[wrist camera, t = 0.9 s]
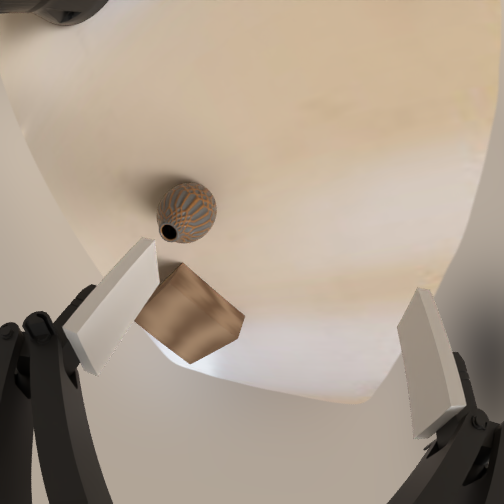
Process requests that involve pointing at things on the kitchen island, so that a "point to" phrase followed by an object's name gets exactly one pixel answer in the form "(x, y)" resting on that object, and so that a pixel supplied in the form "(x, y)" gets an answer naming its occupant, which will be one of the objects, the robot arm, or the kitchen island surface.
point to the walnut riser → (190, 316)
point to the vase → (186, 213)
